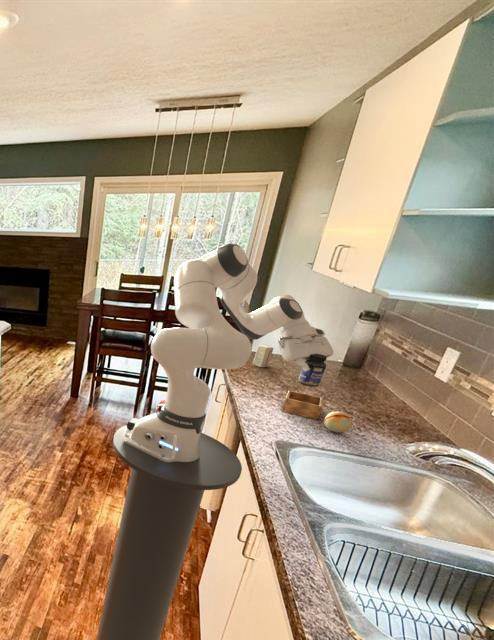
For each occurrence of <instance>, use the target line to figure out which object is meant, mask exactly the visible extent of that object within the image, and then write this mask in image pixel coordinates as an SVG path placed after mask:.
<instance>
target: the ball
mask: <svg viewBox="0 0 494 640" xmlns="http://www.w3.org/2000/svg"><path fill="white" fill-rule="evenodd" d="M323 424H324V426H325V427H326V428H327V430H329V431H331V432H333V433H346V432H347V431H349V430H350V429H351V428H352V426H353V419H352V417H351V416H350V415H349V414H347V413H346V412H343V411H332V412H329V413H328V414H327V415H326V416H325V417H324V419H323Z"/></svg>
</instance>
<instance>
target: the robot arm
mask: <svg viewBox="0 0 494 640" xmlns="http://www.w3.org/2000/svg"><path fill="white" fill-rule="evenodd" d="M172 283H173V289H174V290H173V296H174V313H175V314H174V315H175V317H176V319H177V321H178V322H179V323H180V324H182V325H183V326H184V327H179V326H177V327H170V328H161V329H159V331H157V332H156V333H155V335H154V336H153V338H152V339H151V343H150V352H151V355H152V357H153V359H154V360H155V361H156V362H157V363H158V364H159V365H160V366H161V367H162V368H163V369H164V371H165V374H166V377H167V390H166V397H165V399H162V400H161V401H159V402H158V405H157V406H156V408H155V412H154V413H150V414H148V415H145V416H142V417H141V418H136V417H133V418H131V419H130V420H128V421H127V423H126V425H127V428H128V430H127V431H126V433H125V434H124V437H123V441H124V442H125V443H126V444H129V445H131V446H133V447H135V448H137V449H139V450H141V451H143V452H145V453H147V454H149V455H151V456H153V457H155V458H157V459H160V460H162V461H164V462H168V463H169V462H192V461H195V460H197V459H198V458H199V456H200V455H199V439H200V432H201V433H202V431H203V429H204V427H205V422H206V417H207V413H206V410H207V407H208V404H209V399H210V396H211V389H210V387H209V385H208V384H207V383H206V382H205V381H204V380H202V379H201V378H199V377H198V376H196V375H195V370H196V369H208V370H209V369H210V370H232V369H240V368H242V367H243V366H245V365H246V364H247V363H248V362H249V360H250V358H251V355H252V351H253V348H252V343H251V340H259V339H261V338H263V337H265V336H266V335H268V334H270V333H272V332H275V331H276V330H278V329H279V330H280V335H281V337H279V339H278V341H277V342H278V344H279V345H278V347H279V351H280V354H281V357H282V359H283V360H284V361H285V362H287V363H288V362H296V363H297V365H298V366H299V367H301V369H302V368H303V370H304V371H310V370H312V368H311V366H310V365H308V364H307V363H306V362H305V361H306V360H309V359H310V355H311V354H321V355H325V356H327V358H329V357H331V356H334V349H333V347H332V345H331V343H330V341H329V340H328V338H327V337H326V336H325V335H326V332H325V331H324V330H323V329H320V328H317V327H315V326H313V325H311V324H310V322H309V321H308V320H307V319H306V317H305V313H304V311H303V309H302V307H301V304H300V303H299V302H298V301H297V300H296V299H295V298H294V297H293V295H290V294H281V295H278V296H276V297H274V298H272V299H271V300H270V301H269V303H268V304H266V305H264V306H262V307H260V308H258V309H256V310H254V311H251V312H246V311H245V310H244V308H243V307H242V306H241V303H242V302H243V301H244V300H245V299H246V298H247V297H248V296H250V294H252V292H253V291H254V289H255V288H256V286H257V283H258V273H257V271H256V270H255V268H254V267H253V266H252V265H251V264H250V263H249V260H248V257H247V253H246V252H245V250H244V249H243V248H242V246H240V245H238V244H236V243H227V244H223V245H220V246H219V247H218V248H217V249H215V250H212V251H211V252H209V253H207V254H205V255H203V256H201V257H199V258H197V259H190V260H187V261H185V262H183V263H182V264H181V265H180V266H179V267H178V268H177V270H176V272H175V276H174V277H173V282H172ZM217 288H218V289H220V291H221V293H220V294H219V300H220V303H221V305H222V307H223V308H224V310H225V311H226V313H227V314H228V315H229V317H230V318H231V319H232V320H233V322H234V323H235V324H236V325H237V327H238V329H239V330H240V331H238V330H237V329H236V328H235V327H234V326H232V325H231V323H229V322H228V321H227V320H226V318H225V317H224V316H223V314H222V312H221V310H220V308H219V304H218V303H219V302H218V297H217V292H216V290H217ZM326 361H327V360H326ZM326 361H324V363H326ZM326 364H327V363H326ZM327 368H328V366H327V365H326V368H325V370H327Z"/></svg>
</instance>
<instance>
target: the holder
mask: <svg viewBox="0 0 494 640" xmlns="http://www.w3.org/2000/svg"><path fill="white" fill-rule="evenodd" d="M323 405H324V397H321V396H316V395H312V394H308V393H304V392H300V391H295V390H289V389H288V391H287V393H286V396H285V399H284V402H283V405H282V408H281V411H282V412H285V413H289V414H293V415H297V416H301V417H305V418H308V419H313V420H317V421H318V419H319V417H320V414H321V412H322V409H323V407H324V406H323Z"/></svg>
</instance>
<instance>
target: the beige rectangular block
mask: <svg viewBox="0 0 494 640" xmlns="http://www.w3.org/2000/svg"><path fill="white" fill-rule="evenodd" d="M274 348H275V347H274V346H271V345H267V344H258V345H257V348H256V351H255V354H254V359H253V361H252V365H253V366H257V367H259V368H268V367H269V364H270V361H271V359H272V355H273V352H274Z"/></svg>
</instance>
